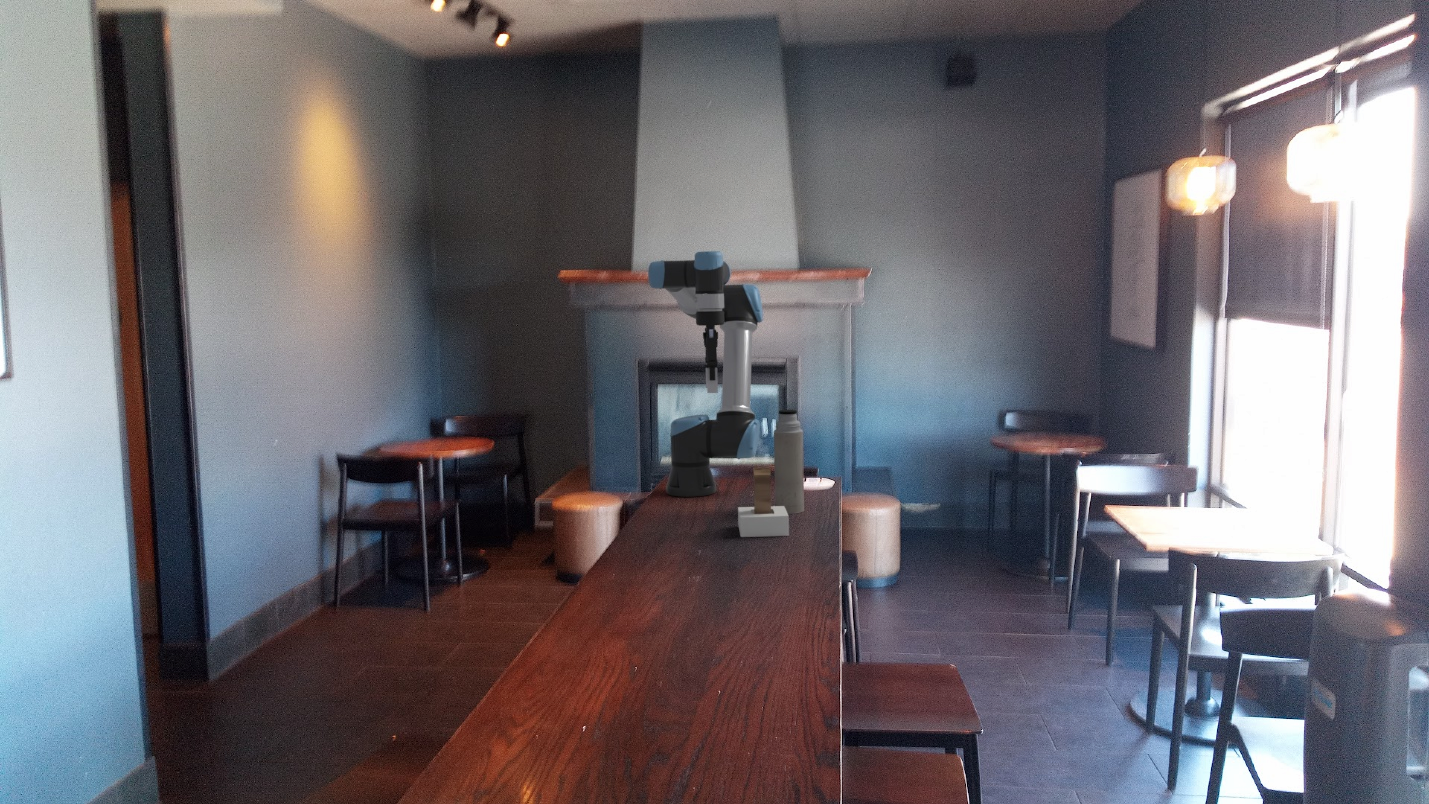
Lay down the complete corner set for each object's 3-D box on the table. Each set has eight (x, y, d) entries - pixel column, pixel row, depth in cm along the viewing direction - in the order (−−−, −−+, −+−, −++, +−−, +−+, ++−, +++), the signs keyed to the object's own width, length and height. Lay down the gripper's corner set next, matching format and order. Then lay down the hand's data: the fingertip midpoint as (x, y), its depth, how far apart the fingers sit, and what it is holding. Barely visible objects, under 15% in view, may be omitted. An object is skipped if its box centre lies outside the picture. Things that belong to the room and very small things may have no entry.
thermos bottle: (803, 507, 296) (801, 408, 293) (805, 513, 288) (803, 411, 285) (774, 507, 296) (772, 408, 293) (775, 514, 288) (773, 412, 285)
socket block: (738, 526, 275) (738, 507, 275) (784, 524, 275) (784, 505, 275) (740, 537, 263) (740, 517, 263) (788, 535, 263) (788, 515, 263)
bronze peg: (754, 529, 271) (753, 467, 270) (770, 528, 271) (769, 467, 270) (755, 532, 267) (754, 470, 265) (771, 532, 267) (770, 470, 266)
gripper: (694, 309, 292) (697, 385, 294) (696, 311, 267) (698, 395, 269) (722, 308, 292) (723, 385, 294) (726, 311, 267) (728, 394, 270)
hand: (711, 390), depth 282 cm, fingers open, 13 cm apart
